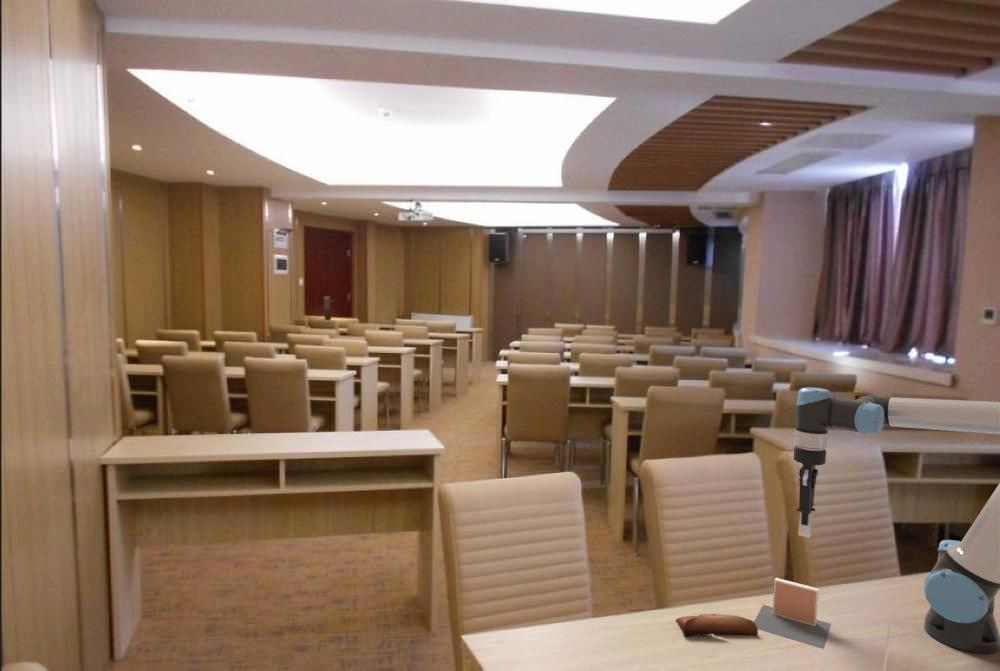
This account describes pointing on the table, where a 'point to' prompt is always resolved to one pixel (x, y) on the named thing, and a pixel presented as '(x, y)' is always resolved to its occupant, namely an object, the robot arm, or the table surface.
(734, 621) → the sunglasses case
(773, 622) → the mat
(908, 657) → the table surface
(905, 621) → the table surface
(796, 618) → the tile
